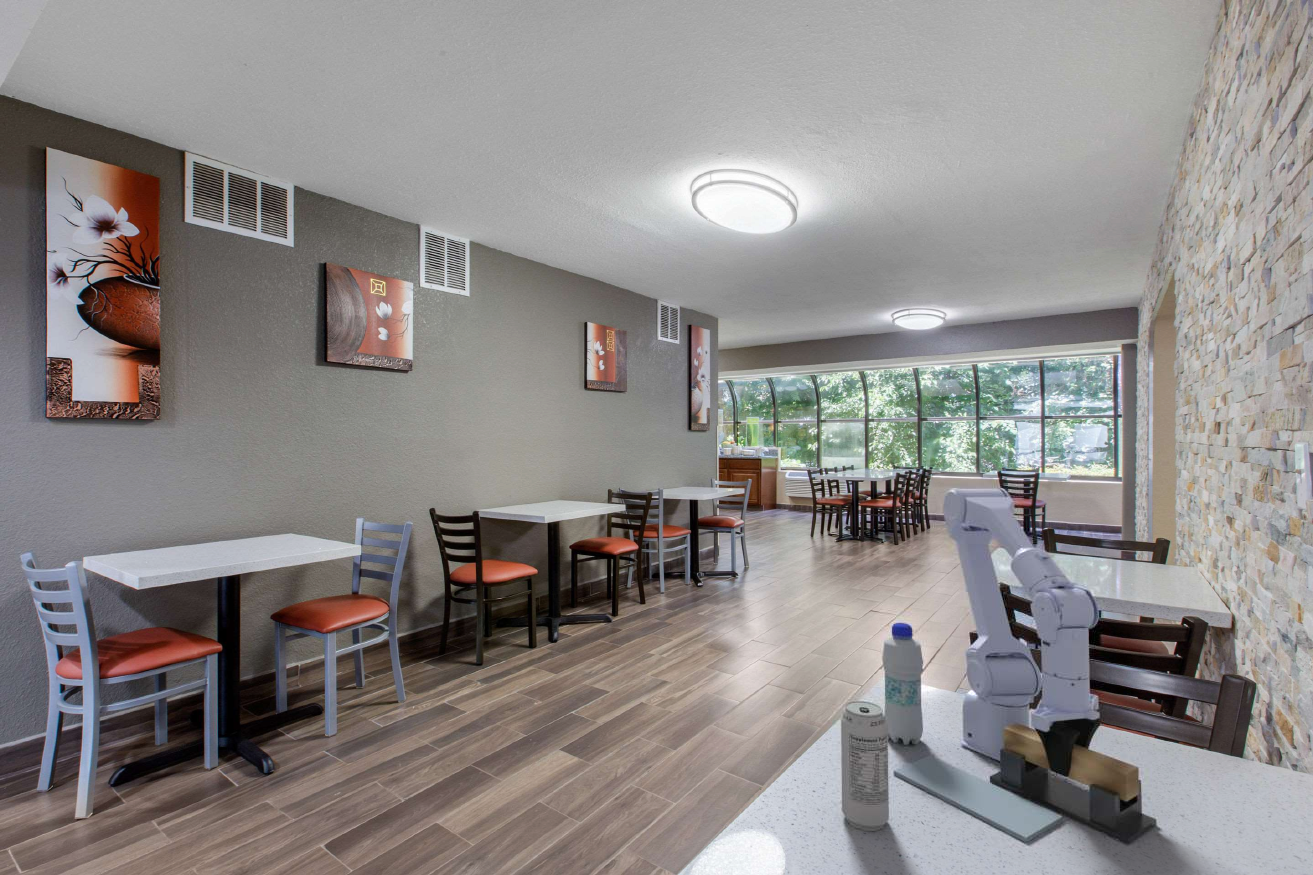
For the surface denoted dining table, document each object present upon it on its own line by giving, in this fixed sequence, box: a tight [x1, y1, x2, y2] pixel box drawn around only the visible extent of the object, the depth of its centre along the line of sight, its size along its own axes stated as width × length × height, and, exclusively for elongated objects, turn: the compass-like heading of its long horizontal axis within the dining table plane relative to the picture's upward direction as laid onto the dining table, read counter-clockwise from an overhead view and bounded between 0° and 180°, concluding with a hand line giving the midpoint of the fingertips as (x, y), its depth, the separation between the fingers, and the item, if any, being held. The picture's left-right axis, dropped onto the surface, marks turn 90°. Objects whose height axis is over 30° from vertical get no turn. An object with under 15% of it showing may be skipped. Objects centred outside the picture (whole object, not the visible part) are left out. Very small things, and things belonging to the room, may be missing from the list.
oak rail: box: [1004, 723, 1140, 802], centre depth 89 cm, size 16×4×4 cm, turn 31°
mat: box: [893, 755, 1064, 843], centre depth 91 cm, size 20×9×1 cm, turn 31°
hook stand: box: [989, 748, 1157, 845], centre depth 89 cm, size 18×8×5 cm, turn 31°
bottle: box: [881, 622, 924, 746], centre depth 109 cm, size 7×7×20 cm
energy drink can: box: [840, 700, 890, 832], centre depth 85 cm, size 6×6×15 cm
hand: (1066, 769), depth 89 cm, fingers closed on oak rail, 3 cm apart
